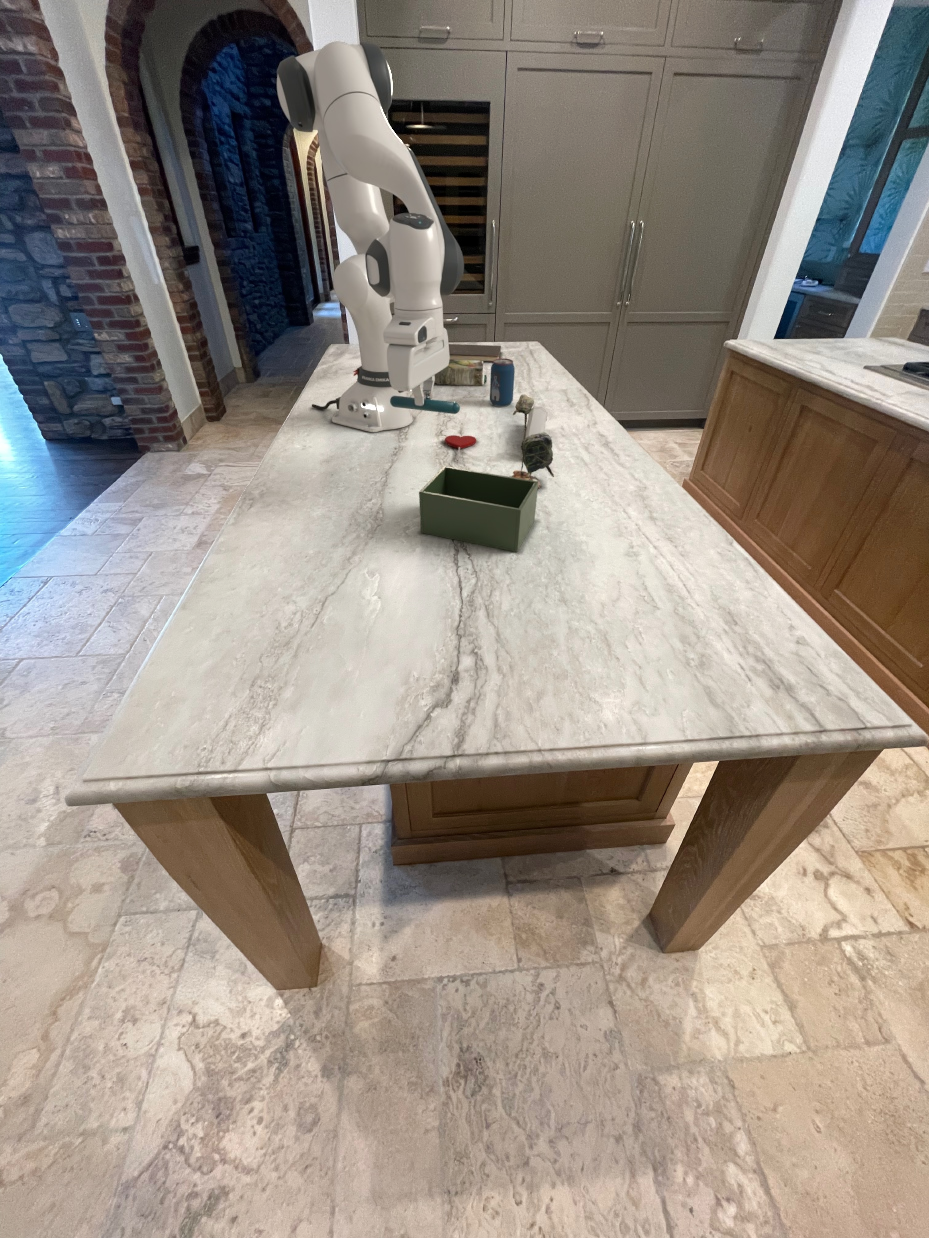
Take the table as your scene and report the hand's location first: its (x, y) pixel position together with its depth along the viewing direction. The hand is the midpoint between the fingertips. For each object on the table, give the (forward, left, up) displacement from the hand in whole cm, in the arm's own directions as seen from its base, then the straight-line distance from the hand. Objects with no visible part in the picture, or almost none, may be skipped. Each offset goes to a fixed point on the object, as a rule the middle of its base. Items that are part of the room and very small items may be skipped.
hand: (423, 402), depth 107 cm
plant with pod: (+21, +8, -18) cm, 29 cm away
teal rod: (0, 0, -2) cm, 2 cm away
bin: (+17, -13, -18) cm, 28 cm away
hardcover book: (-29, +108, -18) cm, 113 cm away
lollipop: (0, +21, -18) cm, 27 cm away
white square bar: (+16, +33, -18) cm, 41 cm away
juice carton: (-22, +75, -18) cm, 80 cm away
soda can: (-1, +59, -18) cm, 61 cm away
